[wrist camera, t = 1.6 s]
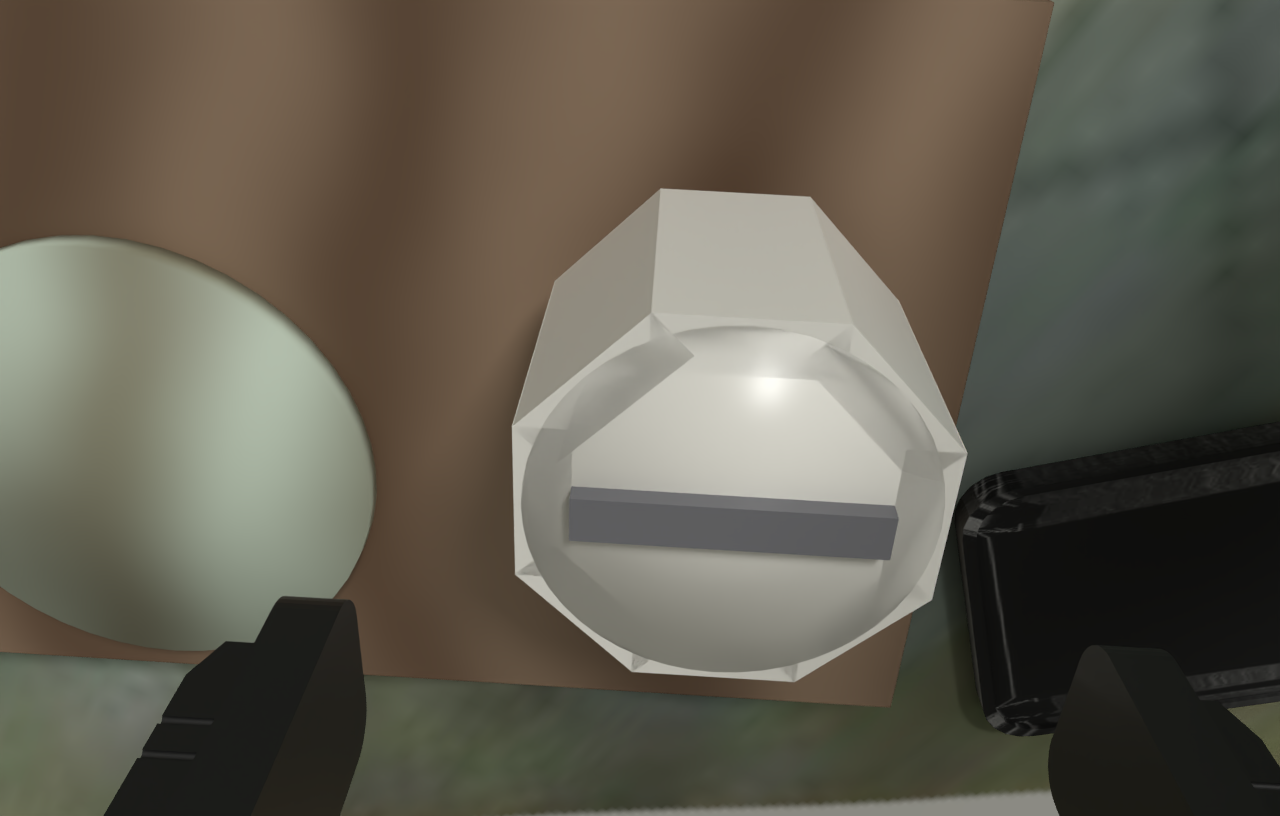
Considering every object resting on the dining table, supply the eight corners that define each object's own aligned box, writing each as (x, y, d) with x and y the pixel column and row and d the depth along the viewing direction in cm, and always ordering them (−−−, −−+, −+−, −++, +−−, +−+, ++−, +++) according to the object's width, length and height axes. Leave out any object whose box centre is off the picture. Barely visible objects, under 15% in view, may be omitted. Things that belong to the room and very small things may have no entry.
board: (1027, -10, 18) (1204, 72, 12) (880, 663, 26) (939, 919, 20) (-260, -79, 18) (-736, -33, 12) (-13, 607, 26) (-226, 843, 20)
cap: (917, 202, 17) (1003, 343, 12) (861, 500, 20) (914, 704, 15) (555, 181, 17) (505, 314, 12) (554, 482, 20) (513, 679, 15)
